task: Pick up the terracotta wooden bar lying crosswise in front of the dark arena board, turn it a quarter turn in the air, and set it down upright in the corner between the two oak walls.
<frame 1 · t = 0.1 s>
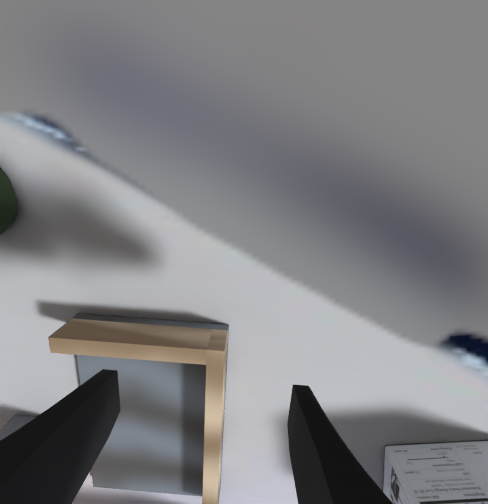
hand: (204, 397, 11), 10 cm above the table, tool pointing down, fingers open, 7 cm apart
terracotta bar: (43, 449, 26), on the table
corner arena: (156, 409, 24), on the table
light bulb box: (440, 465, 25), on the table
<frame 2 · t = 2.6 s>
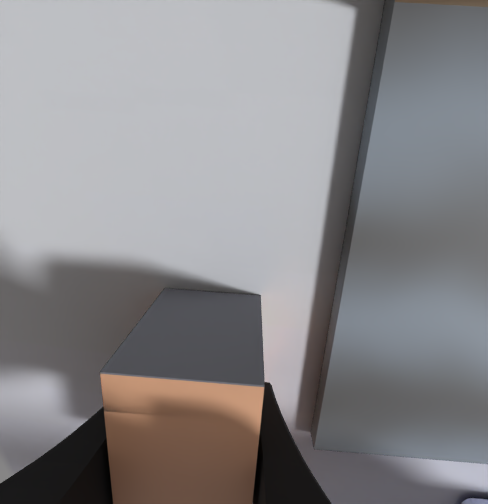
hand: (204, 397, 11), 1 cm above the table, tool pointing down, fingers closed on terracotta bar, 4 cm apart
terracotta bar: (209, 373, 13), on the table, touching gripper
when the fingers open (3 cm above the table, at t = 6.5 s): terracotta bar stays where it is, resting on corner arena.
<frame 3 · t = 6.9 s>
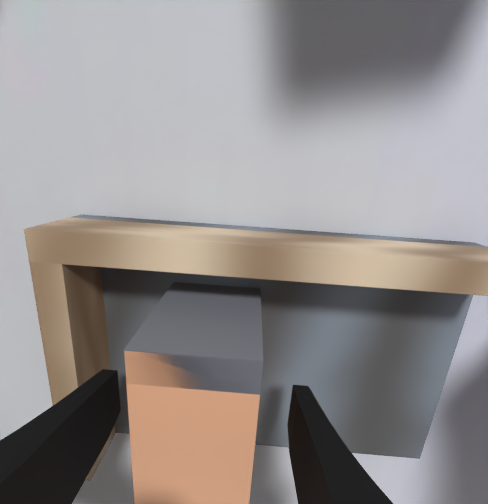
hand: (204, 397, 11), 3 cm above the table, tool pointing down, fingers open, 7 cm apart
terracotta bar: (213, 359, 14), point 1 cm above the table, touching corner arena
corner arena: (263, 341, 14), on the table
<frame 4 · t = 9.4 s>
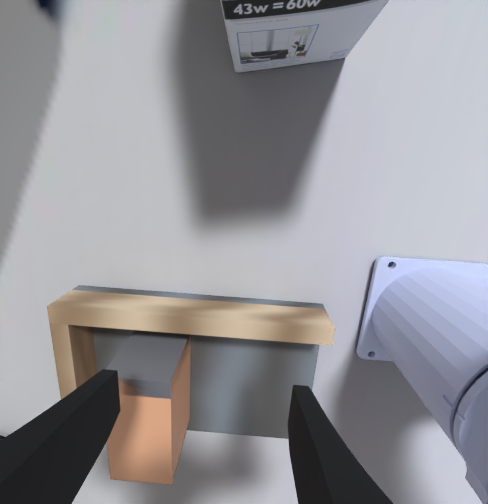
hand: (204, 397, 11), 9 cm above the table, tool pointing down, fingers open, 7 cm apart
terracotta bar: (164, 375, 21), point 1 cm above the table, touching corner arena
corner arena: (198, 363, 22), on the table
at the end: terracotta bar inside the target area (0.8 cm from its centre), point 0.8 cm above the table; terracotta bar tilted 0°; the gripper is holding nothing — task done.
